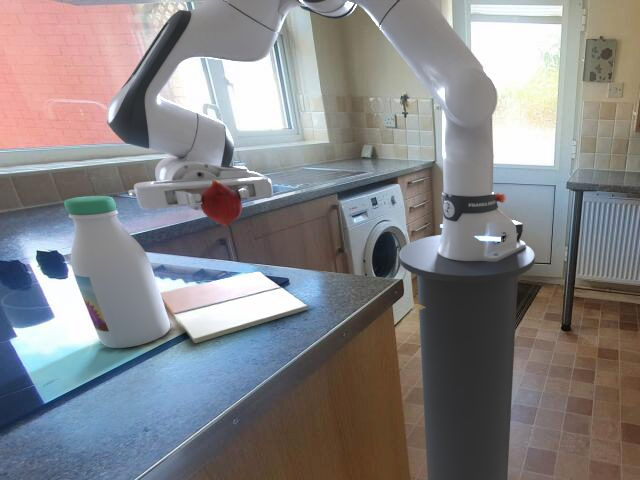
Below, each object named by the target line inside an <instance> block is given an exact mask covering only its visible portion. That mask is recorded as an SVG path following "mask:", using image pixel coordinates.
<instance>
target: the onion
mask: <svg viewBox="0 0 640 480" xmlns="http://www.w3.org/2000/svg"><path fill="white" fill-rule="evenodd" d="M201 198H202V199H201V201H202V202H203V205H201V208H202V210H203V211H202V212H203V213H204V215H205V216H206V217H208V218H209V219H211V220H213V221H214V222H216V223H218V224H219V225H221V226H222V227H228V226H230V225H231V224H232V223H233V222H234V221H236V220H237V219H239V217H240V216H241V215H242V212H243V204H242V201H241V200H240V198H239V197H238V195H237V194H236V193H235V192H233V191H232V190H231V189H230V188H228V187H226V186H224V185H223V184H221V183H219V182H218V181H217V180H215V179H212V185H211V186H210V187H209V188H208V189H207V190H206V191H205V192H204V193H203V194H202V197H201Z"/></svg>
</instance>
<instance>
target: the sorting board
mask: <svg viewBox="0 0 640 480" xmlns="http://www.w3.org/2000/svg"><path fill="white" fill-rule="evenodd" d="M160 294H161V297H162V300H163V303H164V306H165V308H167V310H168V311H169V312H170V313H171V315H172V316H173V317H174V318H175V320H176V321H177V322H178V324H179V325H180V326H181V327H182V329H183V330H184V332H185V333H186V334H187V335H188V336H189V338H190V339H191V340H192V342H193V343H194V344H199V343H202V342H205V341H208V340H212V339H214V338H218V337H222V336H225V335H228V334H231V333H236V332H238V331H241V330H245V329H248V328H251V327H255V326H258V325H261V324H265V323H269V322H271V321H276V320H278V319H281V318H285V317H288V316H292V315H294V314H298V313H301V312H305V311H308V308H309V307H308V305H307V304H306V303H304V302H303V301H302V300H300V299H298V298H297V297H295V296H294V295H293V294H291V293H290V292H288V291H287V290H285V289H284V288H283V287H282V286H280V285H279V284H277V283H276V282H274V281H273V280H271V279H270V278H269V277H267V276H266V275H264V274H263V273H261V272H260V271H254V272H249V273H246V274H241V275H236V276H231V277H226V278H222V279H218V280H212V281H207V282H204V283H203V282H202V283H199V284H195V285H190V286H185V287H181V288H176V289H170V290H165V291H162V292H160Z"/></svg>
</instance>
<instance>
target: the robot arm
mask: <svg viewBox="0 0 640 480" xmlns="http://www.w3.org/2000/svg"><path fill="white" fill-rule="evenodd" d="M357 6H359V7H360V8H361V9H362V10H364V11H365V12H366V13H367V15H368V16H369V17H370V18H371V19H372V21H373V22H374V23H375V25H376V26H377V27H378V29H379V30H380V31H381V32H382V34H383V35H384V36H385V38H386V39H387V40H388V41H389V43H390V45H392V46H393V48H394V49H395V50H396V52H397V53H398V54H399V56H401V58H402V59H403V60H404V62H405V63H406V64H407V65H408V67H409V68H410V69H411V70H412V72H413V73H414V74H415V75H416V77H417V78H418V80H419V81H420V82H421V83H422V85H423V86H424V87H425V89H426V90H427V91H428V93H429V94H430V95H431V96H432V98H433V99H434V100H435V102H436V103H437V104H438V105H439V107H440V108H441V111H442V177H443V181H442V182H443V191H442V192H441V209H442V217H443V218H442V224H440V225H439V227H440V228H441V234H440V235H441V240H440V245H439V249H438V253H439V254H440V255H441V256H443V257H445V258H448V259H453V260H459V261H488V262H496V261H499V260H501V259H503V258H505V257H507V256H509V255H511V254H513V253H515V252H517V251H519V250H521V249H523V248H525V247H526V245H527V244H526V242H525V241H523V240H521V237H522V234H523V232H524V231H523V229H524V224H523V222H519V221H516V220H514V219H513V220H512V219H511V218H510V217H508V216H507V215H506V214H505V213H504V212H503V211H502V210H500V209H499V205H498V203H501V204H503V203H505V202H506V199H507V197H506V194H504V193H500V192H497V193H494V158H495V157H494V136H493V134H494V133H493V132H494V131H493V116H494V113H495V111H496V108H497V105H498V98H499V97H498V96H499V95H498V90H497V86H496V83H495V82H494V79H493V78H492V76H491V75H490V74H489V73H488V70H486V68H485V67H484V66H483V65H482V63H481V62H480V61H479V59H478V58H477V57H476V56H475V54H474V53H473V52H472V50H471V49H470V48H469V47H468V46H467V44H466V43H465V41H463V39H462V38H461V36H460V35H458V33H457V32H456V31H455V29H454V28H453V27H452V25H450V23H449V22H448V20H447V19H446V18H445V16H444V15H443V13H442V12H441V10H440V9H439V8H438V6H437V5H436V4H435V2H434V1H433V0H204V1H203V2H202V3H201V4H200V5H199V6H197V7H196V8H193V9H192V10H185V9H179V10H177V11H176V12H174V13H173V14H172V15H171V16H169V18H168V19H167V21H165V23H164V25H163V26H162V27H161V28H160V30H159V31H158V33H157V35H156V36H155V37H154V39H153V40H152V42H151V44H149V46H148V48H147V49H146V51H145V53H144V54H143V56H142V57H141V59H140V61H139V62H138V63H137V66H136V67H135V68H134V70H133V72H132V73H131V74H130V76H129V77H128V79H127V81H125V83H124V84H123V85H122V86H121V88H120V90H118V91H117V92H116V93H115V94H114V95H113V97H112V98H111V100H110V101H109V104H108V107H107V109H106V124H107V125H108V127H109V128H110V130H112V132H113V133H114V134H115V135H116V136H117V137H118V138H119V139H120V140H121V141H122V142H124V143H125V144H126V145H127V144H128V145H131V146H136V147H139V148H143V149H147V150H148V149H150V150H153V151H157V152H160V153H163V154H167V155H169V156H167V157H165V158H163V159H160V160H159V162H158V163H156V165H155V169H154V176H155V177H154V178H155V180H152V181H151V180H150V181H141V182H135V184H134V185H133V189H129V190H127V191H128V192H127V194H128V196H130V197H131V198H136V200H137V203H138V206H139V208H140V209H141V210H144V211H145V210H146V211H154V210H155V211H156V210H163V209H173V208H182V207H183V208H184V207H186V208H188V209H190V210H194V211H199V212H200V211H201V212H203V210H202V208H201V205H203V202H202V201H201V199H202V198H201V197H202V194H203V193H204V192H205V191H206V190H207V189H208V188H209V187H210V186H211V185H212V179H215V180H217V181H218V182H219V183H221V184H223V185H224V186H226V187H228V188H230V189H231V190H232V191H233V192H235V193H236V194H237V195H238V197H239V198H240V200H241V202H244V201H250V200H251V201H252V200H260V199H261V200H262V199H271V198H273V197H274V188H273V184H272V180H271V179H270V178H269V177H268V176H266V175H265V174H261V173H259V172H255V171H249V168H248V167H246V166H238V165H231V163H232V160H233V158H234V157H233V156H234V152H235V143H234V139H233V137H232V134H231V132H230V130H229V128H228V127H227V125H226V124H225V123H224V122H223V121H222V120H219V119H216V118H213V117H212V116H209V115H206V114H204V113H201V112H199V111H195V110H192V109H190V108H187V107H185V106H183V105H181V104H177V103H175V102H172V101H170V100H167V99H165V98H163V97H161V94H162V92H163V91H164V89H165V87H166V86H167V84H168V83H169V82H170V80H171V78H172V77H173V75H174V73H175V72H176V71H177V69H178V68H179V66H180V65H181V64H183V62H185V61H187V60H190V59H195V58H205V59H214V60H221V61H226V62H231V63H241V64H242V63H243V64H245V63H254V62H258V61H262V60H263V59H265V58H267V56H268V55H269V54H270V53H271V51H272V49H273V47H274V45H275V44H276V42H277V39H278V37H279V35H280V32H281V29H282V28H283V27H282V26H283V25H284V22H285V19H286V18H287V15H288V14H289V13H290V11H291V10H293V9H294V8H296V7H300V8H301V9H302V10H304V11H308V12H311V13H313V14H316V15H319V16H321V17H325V18H328V19H333V20H334V19H335V20H336V19H338V20H339V19H343V18H346V17H348V16H350V15H351V14H352V13H353V12H354V11H355V8H356V7H357Z"/></svg>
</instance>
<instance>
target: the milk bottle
mask: <svg viewBox="0 0 640 480" xmlns="http://www.w3.org/2000/svg"><path fill="white" fill-rule="evenodd" d="M63 205H64V208H65V210H66V212H67V213H68V218H69V219H71V220H72V222H73V225H74V236H73V242H72V246H71V250H70V264H71V270H72V273H73V276H74V278H75V281H76V284H77V287H78V289H79V292H80V295H81V297H82V300H83V302H84V305H85V307H86V309H87V312H88V314H89V317H90V320H91V322H92V325H93V327H94V329H95V332H96V335H97V336H98V339H99V341H100V343H101V344H102V345H104V346H105V347H107V348H109V349H110V348H111V349H124V348H131V347H137V346H141V345H145V344H148V343H151V342H154V341H156V340H158V339H160V338H162V337H164V336H165V335H166V334H168V332H169V331H170V328H171V324H170V323H171V322H170V319H169V316H168V313H167V310H166V305H165V304H164V303H163V300H162V297H161V294H160V293H161V292H160V291H161V290H160V288H159V285H158V282H157V278H156V275H155V272H154V270H153V267H152V264H151V262H150V259H149V257H148V255H147V253H146V251H145V250H144V248H143V246H142V245H141V244H140V243H139V242H138V241H137V240H136V239H135V238H134V237H133V235H131V233H129V232H128V231H127V230H126V228H125V227H124V226H123V224H122V223H121V222H120V220H119V218H118V214H119V211H118V210H117V204H116V201H115V199H114V198H113V196H112V197H111V196H107V195H89V196H78V197H72V198H67V199H64V201H63Z"/></svg>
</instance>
